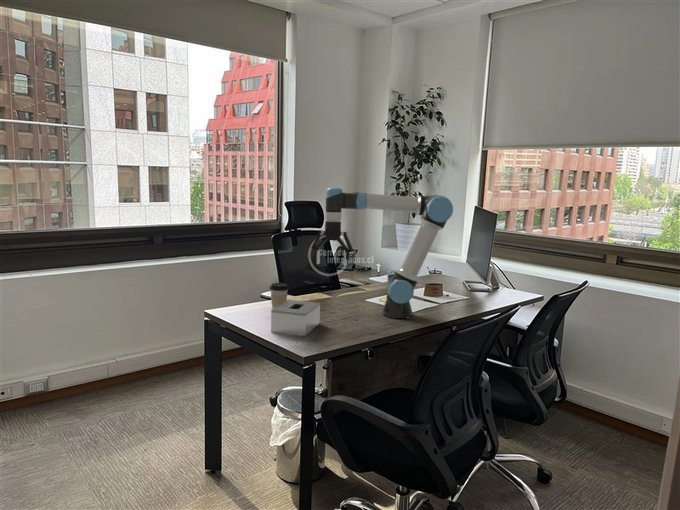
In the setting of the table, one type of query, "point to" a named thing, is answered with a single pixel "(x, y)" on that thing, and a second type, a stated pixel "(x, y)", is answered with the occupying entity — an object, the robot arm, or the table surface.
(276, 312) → the box
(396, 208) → the robot arm
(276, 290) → the coffee cup
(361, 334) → the table surface
